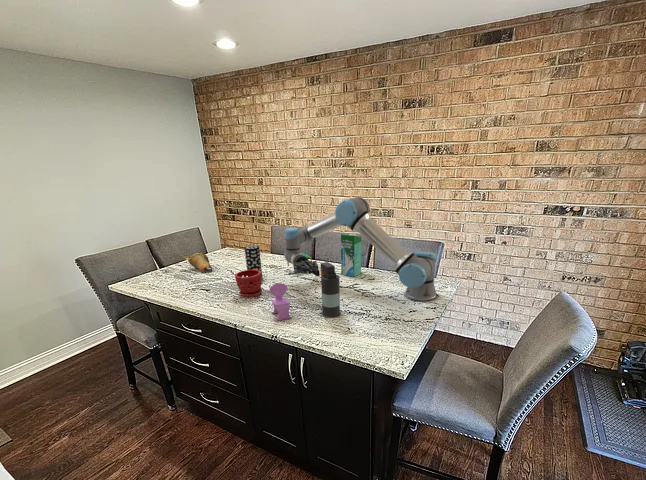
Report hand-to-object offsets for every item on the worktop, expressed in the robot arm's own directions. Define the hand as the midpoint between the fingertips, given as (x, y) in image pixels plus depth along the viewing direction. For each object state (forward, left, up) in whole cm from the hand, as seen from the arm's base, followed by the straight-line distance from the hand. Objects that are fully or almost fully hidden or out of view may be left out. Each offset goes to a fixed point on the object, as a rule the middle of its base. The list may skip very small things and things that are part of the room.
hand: (318, 273), depth 160 cm
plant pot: (+38, +12, -16) cm, 43 cm away
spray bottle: (-11, +5, -16) cm, 20 cm away
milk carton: (+14, -47, -16) cm, 52 cm away
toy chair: (+5, +21, -16) cm, 27 cm away
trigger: (-7, +3, -3) cm, 8 cm away
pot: (+101, +2, -16) cm, 102 cm away
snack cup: (+44, -33, -16) cm, 57 cm away
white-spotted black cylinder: (+53, -4, -16) cm, 55 cm away
